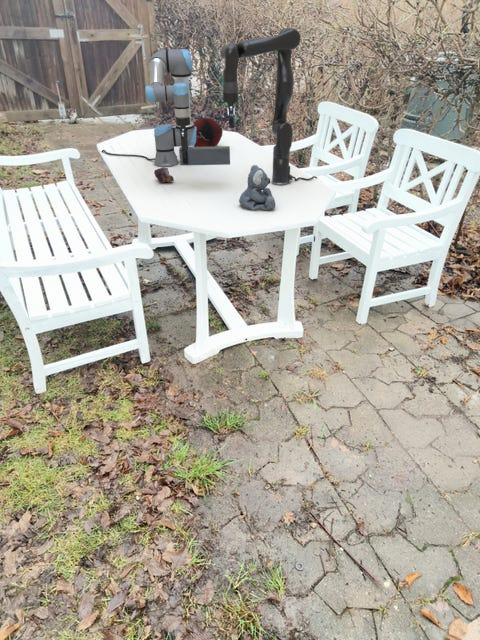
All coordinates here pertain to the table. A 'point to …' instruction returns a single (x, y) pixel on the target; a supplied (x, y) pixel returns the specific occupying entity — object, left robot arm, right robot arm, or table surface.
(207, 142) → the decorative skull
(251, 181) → the koala plush
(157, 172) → the rock
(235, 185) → the table surface
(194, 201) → the table surface
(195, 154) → the bar
